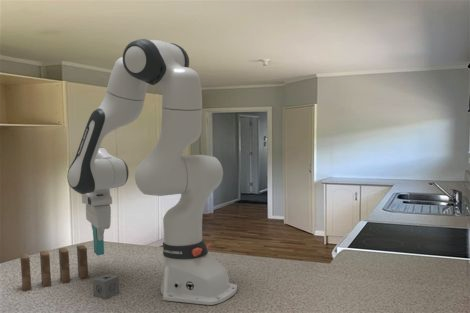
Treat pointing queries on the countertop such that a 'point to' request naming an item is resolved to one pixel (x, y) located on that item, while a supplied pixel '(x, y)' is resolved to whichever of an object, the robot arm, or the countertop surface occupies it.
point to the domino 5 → (97, 243)
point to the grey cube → (106, 286)
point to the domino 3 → (64, 265)
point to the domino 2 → (45, 268)
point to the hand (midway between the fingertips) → (98, 237)
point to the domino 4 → (82, 262)
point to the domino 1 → (25, 272)
